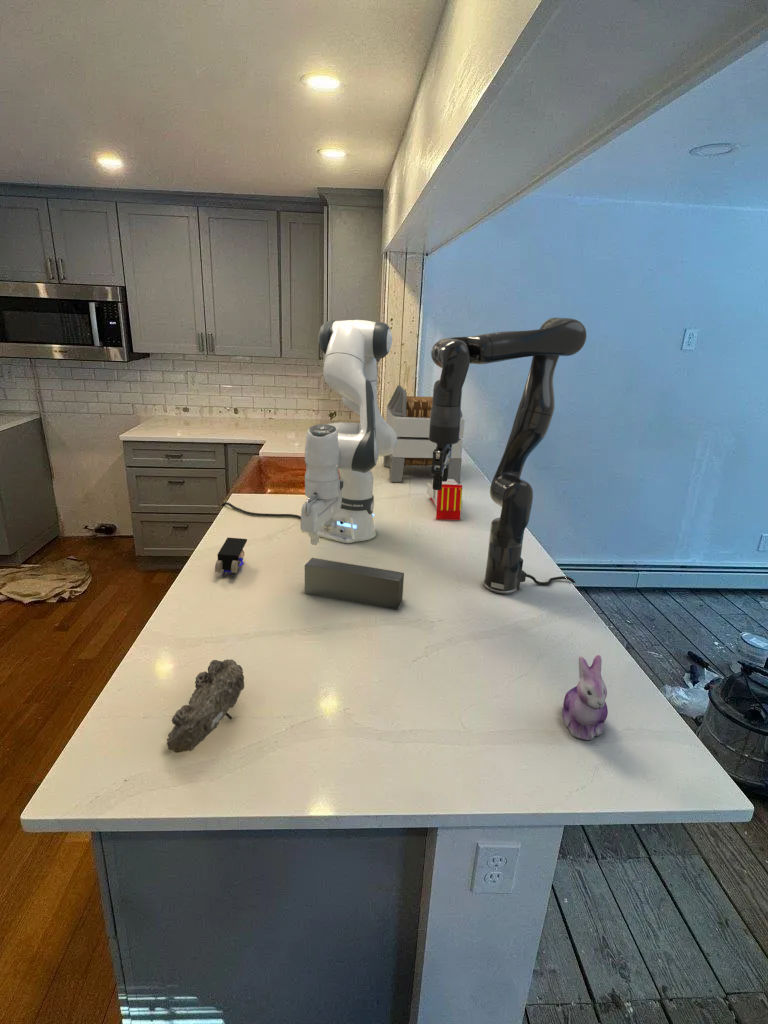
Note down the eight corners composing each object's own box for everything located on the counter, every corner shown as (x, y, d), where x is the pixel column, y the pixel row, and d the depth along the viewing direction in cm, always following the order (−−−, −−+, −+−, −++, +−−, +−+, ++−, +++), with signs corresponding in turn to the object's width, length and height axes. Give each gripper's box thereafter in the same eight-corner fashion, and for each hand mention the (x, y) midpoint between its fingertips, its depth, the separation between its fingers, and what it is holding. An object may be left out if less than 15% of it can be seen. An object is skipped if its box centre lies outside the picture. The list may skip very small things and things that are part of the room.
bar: (304, 593, 156) (304, 565, 153) (311, 585, 161) (311, 557, 158) (397, 609, 150) (399, 580, 147) (402, 600, 154) (404, 572, 151)
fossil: (192, 660, 117) (244, 628, 112) (224, 691, 120) (276, 661, 115) (142, 746, 98) (202, 712, 93) (182, 779, 101) (242, 748, 96)
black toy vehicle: (238, 584, 162) (249, 557, 175) (236, 562, 158) (247, 536, 172) (215, 584, 161) (227, 556, 175) (212, 561, 158) (225, 535, 171)
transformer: (382, 463, 289) (386, 382, 275) (445, 464, 293) (451, 384, 279) (390, 482, 257) (394, 392, 243) (460, 483, 261) (468, 394, 247)
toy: (454, 474, 240) (466, 486, 210) (452, 505, 242) (464, 521, 213) (426, 473, 239) (434, 485, 210) (424, 504, 242) (432, 520, 212)
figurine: (586, 749, 104) (600, 681, 99) (547, 715, 112) (558, 650, 107) (622, 734, 108) (637, 668, 103) (582, 702, 117) (594, 639, 112)
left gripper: (318, 501, 137) (317, 553, 142) (346, 479, 156) (345, 526, 160) (293, 498, 139) (294, 550, 143) (324, 476, 157) (324, 523, 162)
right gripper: (455, 429, 133) (449, 495, 139) (464, 419, 146) (458, 479, 152) (424, 426, 135) (419, 491, 141) (435, 416, 148) (431, 476, 154)
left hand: (321, 537), depth 152 cm, fingers open, 8 cm apart
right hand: (440, 485), depth 146 cm, fingers open, 8 cm apart
